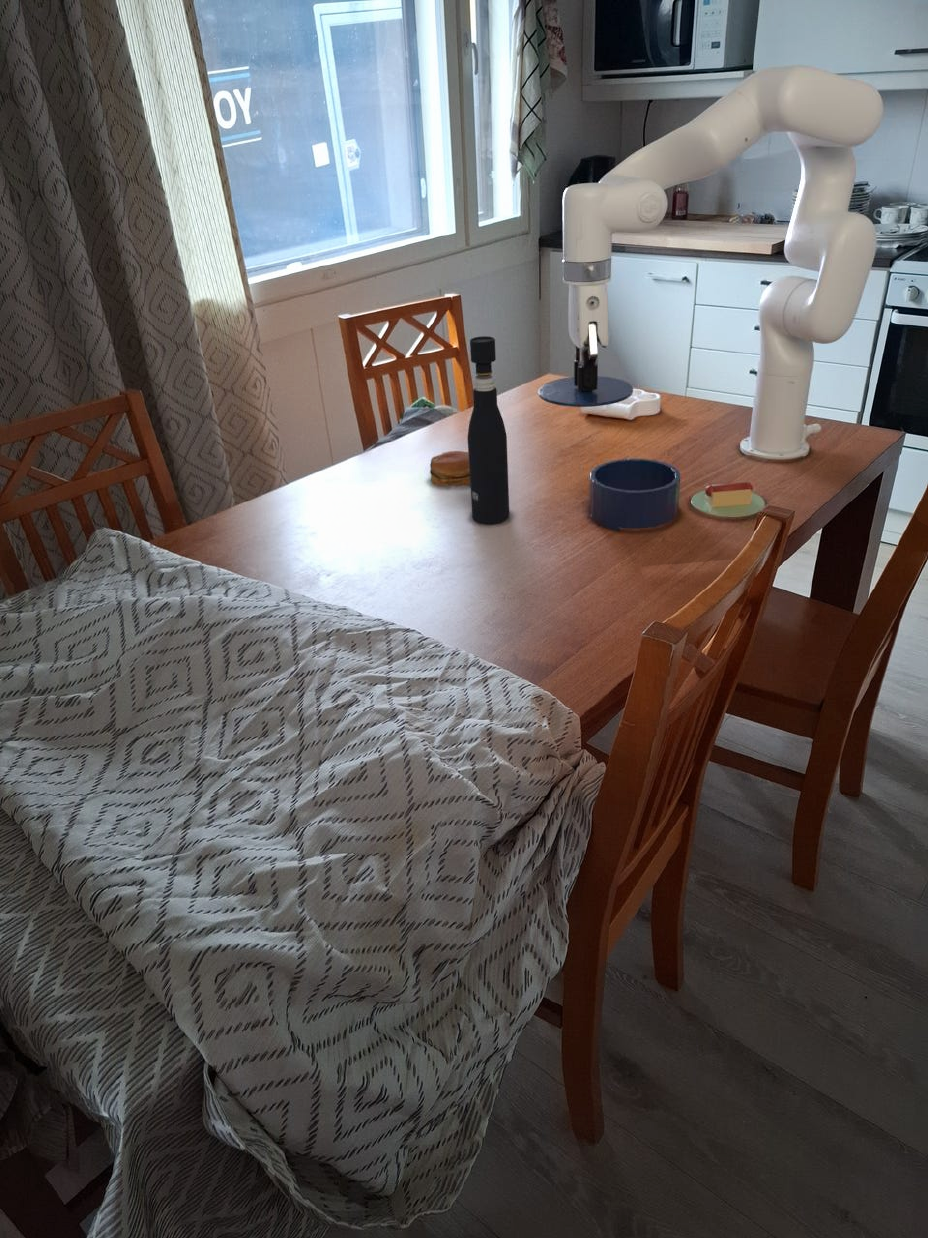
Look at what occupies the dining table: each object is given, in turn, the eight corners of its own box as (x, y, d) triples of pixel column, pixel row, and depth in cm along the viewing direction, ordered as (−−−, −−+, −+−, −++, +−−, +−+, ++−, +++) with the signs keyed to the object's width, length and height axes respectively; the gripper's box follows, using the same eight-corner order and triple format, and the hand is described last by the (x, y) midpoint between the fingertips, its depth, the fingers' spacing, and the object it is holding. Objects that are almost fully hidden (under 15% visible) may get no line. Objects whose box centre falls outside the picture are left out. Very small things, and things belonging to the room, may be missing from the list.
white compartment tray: (567, 414, 191) (595, 396, 202) (642, 425, 183) (668, 405, 193) (567, 400, 190) (595, 381, 200) (643, 409, 181) (669, 390, 191)
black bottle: (514, 510, 149) (508, 334, 134) (503, 526, 144) (496, 344, 128) (479, 507, 151) (469, 333, 136) (467, 523, 146) (455, 343, 130)
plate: (731, 486, 152) (731, 482, 152) (780, 509, 143) (780, 505, 143) (676, 501, 148) (676, 497, 148) (722, 526, 139) (723, 522, 139)
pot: (643, 489, 154) (645, 452, 150) (695, 518, 142) (698, 479, 138) (573, 508, 149) (573, 470, 145) (621, 539, 137) (623, 499, 134)
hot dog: (747, 495, 147) (749, 478, 145) (754, 503, 144) (756, 486, 142) (701, 499, 147) (702, 481, 145) (707, 507, 144) (709, 490, 142)
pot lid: (597, 376, 154) (598, 345, 151) (652, 398, 142) (654, 363, 139) (521, 393, 148) (520, 360, 146) (571, 416, 136) (571, 381, 133)
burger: (487, 483, 160) (485, 459, 158) (439, 492, 158) (437, 468, 156) (469, 466, 169) (468, 443, 166) (424, 474, 166) (422, 451, 164)
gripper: (622, 278, 128) (618, 399, 138) (599, 261, 142) (597, 372, 151) (573, 282, 128) (572, 403, 137) (554, 264, 142) (555, 376, 151)
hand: (585, 386), depth 144 cm, fingers closed on pot lid, 2 cm apart
